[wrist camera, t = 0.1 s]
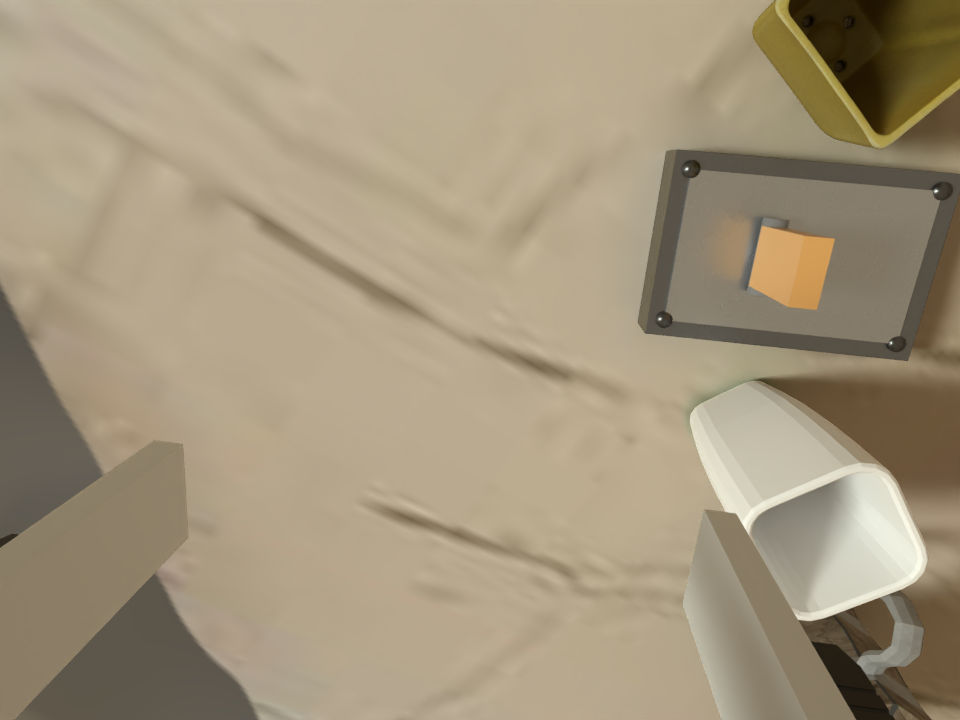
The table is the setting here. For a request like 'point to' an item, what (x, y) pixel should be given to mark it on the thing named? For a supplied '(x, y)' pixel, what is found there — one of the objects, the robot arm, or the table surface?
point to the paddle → (789, 265)
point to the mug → (879, 651)
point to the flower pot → (865, 62)
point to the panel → (810, 208)
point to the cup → (808, 500)
